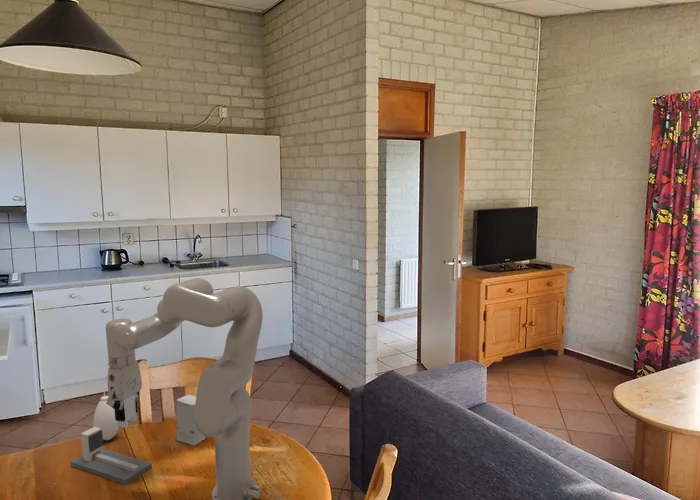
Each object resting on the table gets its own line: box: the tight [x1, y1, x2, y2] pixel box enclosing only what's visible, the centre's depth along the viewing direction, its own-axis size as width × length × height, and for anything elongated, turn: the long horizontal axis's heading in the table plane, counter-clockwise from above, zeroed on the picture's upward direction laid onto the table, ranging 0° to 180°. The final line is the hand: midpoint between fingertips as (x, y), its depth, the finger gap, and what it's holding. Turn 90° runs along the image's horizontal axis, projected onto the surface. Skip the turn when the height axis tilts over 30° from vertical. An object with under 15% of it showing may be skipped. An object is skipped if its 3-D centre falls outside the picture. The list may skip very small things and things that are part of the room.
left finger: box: [117, 394, 138, 429], centre depth 162 cm, size 4×5×9 cm
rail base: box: [70, 426, 153, 486], centre depth 164 cm, size 24×10×10 cm, turn 64°
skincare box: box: [176, 394, 206, 446], centre depth 180 cm, size 8×6×15 cm
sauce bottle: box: [93, 389, 120, 441], centre depth 181 cm, size 8×8×18 cm
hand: (126, 415), depth 162 cm, fingers open, 5 cm apart
